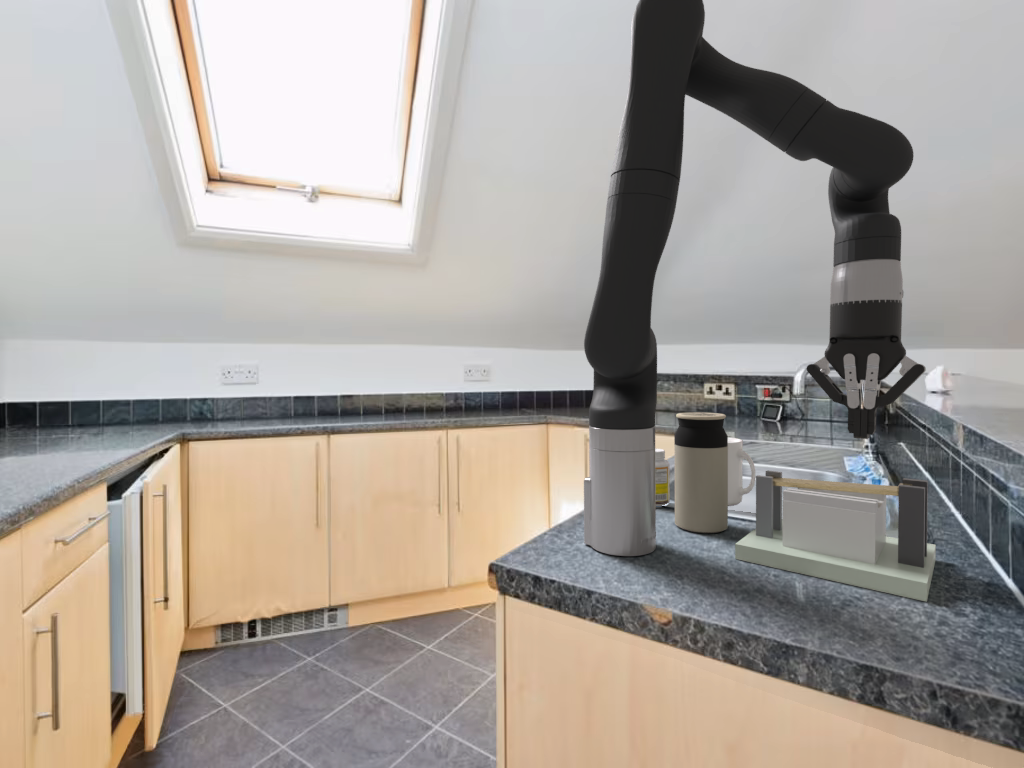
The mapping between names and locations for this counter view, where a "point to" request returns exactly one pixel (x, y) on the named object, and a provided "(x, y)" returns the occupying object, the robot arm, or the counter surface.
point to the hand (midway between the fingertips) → (861, 437)
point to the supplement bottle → (662, 478)
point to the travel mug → (701, 473)
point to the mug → (737, 471)
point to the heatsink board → (843, 567)
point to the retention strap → (838, 486)
